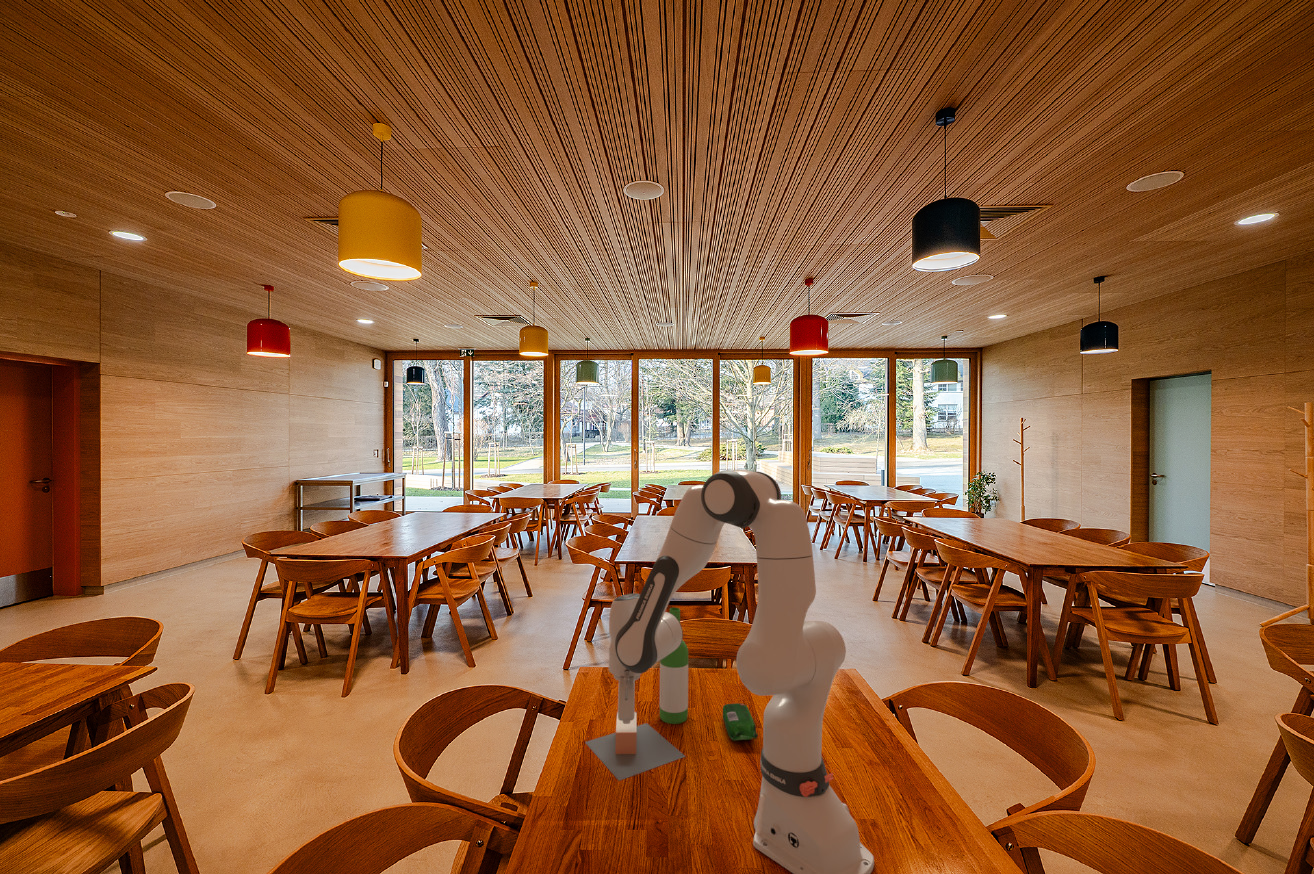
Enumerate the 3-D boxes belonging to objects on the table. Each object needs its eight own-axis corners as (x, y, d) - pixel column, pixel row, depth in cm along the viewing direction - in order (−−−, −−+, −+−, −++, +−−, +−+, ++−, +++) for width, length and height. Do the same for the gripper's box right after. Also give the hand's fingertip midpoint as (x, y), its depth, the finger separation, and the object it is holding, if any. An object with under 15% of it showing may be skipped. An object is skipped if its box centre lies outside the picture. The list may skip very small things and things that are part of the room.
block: (636, 732, 128) (636, 712, 138) (615, 732, 128) (617, 712, 138) (636, 753, 128) (636, 731, 138) (615, 754, 127) (616, 731, 137)
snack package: (730, 749, 132) (730, 728, 132) (720, 717, 147) (720, 698, 147) (758, 749, 132) (759, 728, 132) (745, 717, 147) (746, 698, 148)
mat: (685, 758, 127) (685, 756, 127) (618, 783, 117) (618, 780, 117) (646, 725, 142) (646, 723, 142) (584, 744, 133) (584, 742, 133)
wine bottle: (656, 724, 143) (657, 611, 143) (662, 710, 150) (664, 603, 151) (684, 728, 141) (686, 614, 142) (690, 714, 148) (691, 605, 149)
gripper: (640, 680, 118) (640, 744, 117) (639, 647, 138) (639, 701, 138) (612, 680, 117) (611, 744, 117) (615, 647, 138) (615, 701, 137)
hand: (626, 720), depth 127 cm, fingers closed
